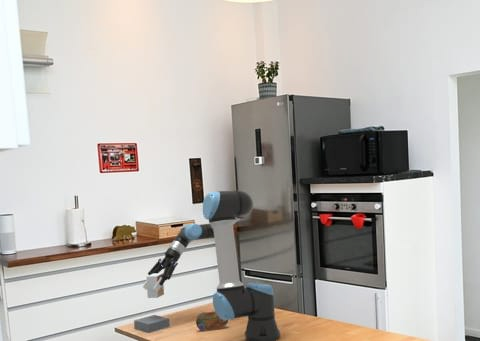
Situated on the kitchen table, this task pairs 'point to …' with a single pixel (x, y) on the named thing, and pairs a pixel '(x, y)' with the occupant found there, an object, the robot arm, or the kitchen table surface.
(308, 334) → the kitchen table surface
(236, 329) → the kitchen table surface
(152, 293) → the white upright block
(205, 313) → the tin
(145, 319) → the block
